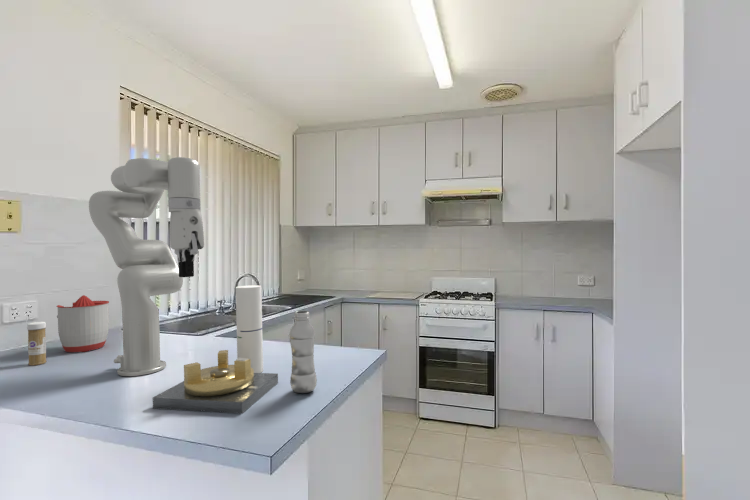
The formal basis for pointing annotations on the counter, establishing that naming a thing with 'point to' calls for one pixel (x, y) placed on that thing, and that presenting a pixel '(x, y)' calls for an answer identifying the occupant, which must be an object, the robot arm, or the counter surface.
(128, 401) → the counter surface
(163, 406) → the base plate
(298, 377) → the plastic bottle
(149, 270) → the robot arm
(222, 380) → the gold tabbed disc
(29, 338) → the sprinkles bottle
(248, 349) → the cylindrical container
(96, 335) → the citrus juicer
